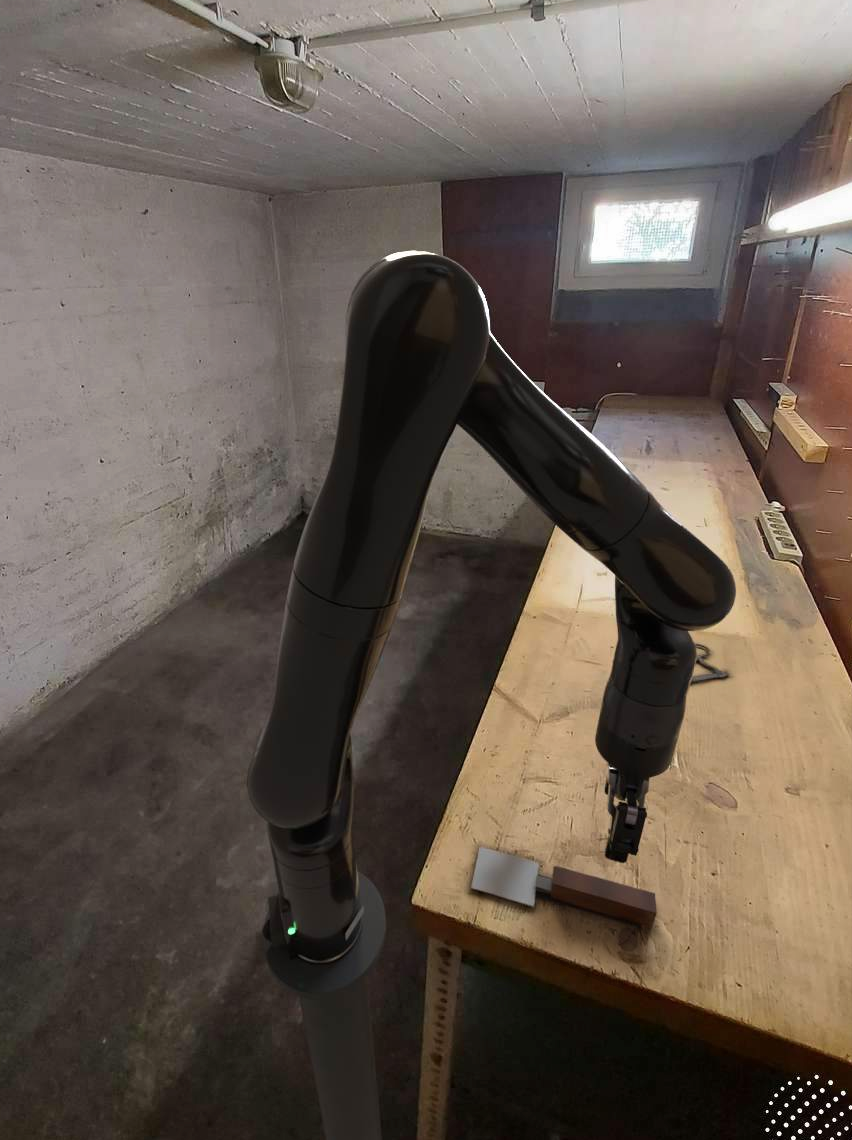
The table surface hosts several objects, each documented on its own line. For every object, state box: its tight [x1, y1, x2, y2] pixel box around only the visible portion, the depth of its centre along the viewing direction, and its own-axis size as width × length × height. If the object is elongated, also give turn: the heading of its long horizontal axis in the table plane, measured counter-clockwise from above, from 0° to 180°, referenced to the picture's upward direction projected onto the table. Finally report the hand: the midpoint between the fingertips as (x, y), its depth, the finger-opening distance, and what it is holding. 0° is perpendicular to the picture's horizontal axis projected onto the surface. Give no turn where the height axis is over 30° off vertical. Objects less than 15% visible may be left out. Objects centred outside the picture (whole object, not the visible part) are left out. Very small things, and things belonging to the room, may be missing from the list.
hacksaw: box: [691, 643, 731, 683], centre depth 110 cm, size 24×10×2 cm, turn 103°
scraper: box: [470, 846, 657, 929], centre depth 71 cm, size 22×6×3 cm, turn 72°
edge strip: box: [535, 873, 643, 929], centre depth 72 cm, size 18×3×1 cm, turn 72°
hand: (614, 824), depth 64 cm, fingers open, 8 cm apart
